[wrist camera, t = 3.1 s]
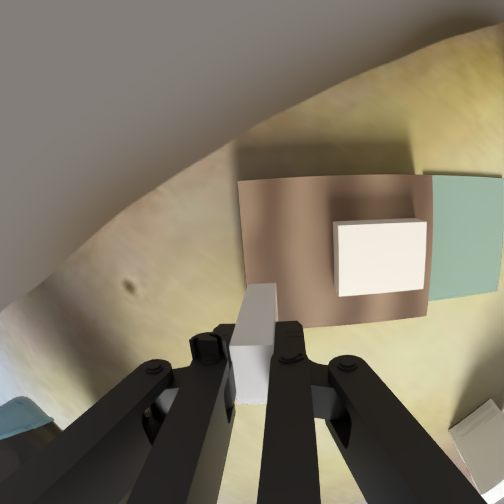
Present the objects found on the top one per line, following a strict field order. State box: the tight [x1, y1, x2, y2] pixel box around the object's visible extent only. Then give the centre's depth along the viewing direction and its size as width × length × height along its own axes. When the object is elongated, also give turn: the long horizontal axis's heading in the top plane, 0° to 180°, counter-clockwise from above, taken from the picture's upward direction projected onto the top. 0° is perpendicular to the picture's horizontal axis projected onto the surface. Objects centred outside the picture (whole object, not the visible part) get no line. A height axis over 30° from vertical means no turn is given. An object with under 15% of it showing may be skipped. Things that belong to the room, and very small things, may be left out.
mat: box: [428, 175, 504, 301], centre depth 30 cm, size 12×14×1 cm
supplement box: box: [448, 398, 504, 504], centre depth 29 cm, size 9×9×15 cm
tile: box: [333, 218, 427, 297], centre depth 26 cm, size 8×6×2 cm
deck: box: [238, 174, 433, 328], centre depth 29 cm, size 18×14×4 cm
